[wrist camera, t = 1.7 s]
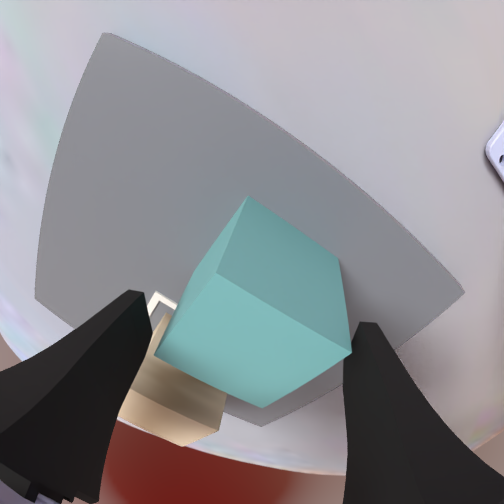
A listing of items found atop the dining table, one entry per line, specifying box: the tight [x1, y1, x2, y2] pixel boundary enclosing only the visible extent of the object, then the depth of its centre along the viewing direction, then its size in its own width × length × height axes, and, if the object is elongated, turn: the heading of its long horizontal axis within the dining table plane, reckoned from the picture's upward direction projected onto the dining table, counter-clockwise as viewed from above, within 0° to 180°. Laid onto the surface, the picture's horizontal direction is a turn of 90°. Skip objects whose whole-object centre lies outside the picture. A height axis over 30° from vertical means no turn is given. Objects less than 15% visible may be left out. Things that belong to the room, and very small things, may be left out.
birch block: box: [118, 313, 227, 446], centre depth 15 cm, size 4×4×5 cm
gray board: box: [35, 33, 465, 427], centre depth 15 cm, size 20×18×1 cm
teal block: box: [154, 196, 352, 408], centre depth 11 cm, size 4×4×5 cm
